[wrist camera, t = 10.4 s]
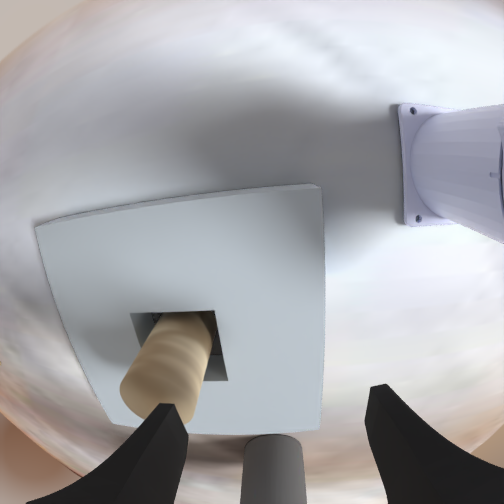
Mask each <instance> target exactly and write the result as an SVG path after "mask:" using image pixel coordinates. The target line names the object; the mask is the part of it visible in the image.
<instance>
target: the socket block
mask: <svg viewBox="0 0 504 504" xmlns="http://www.w3.org/2000/svg"><path fill="white" fill-rule="evenodd" d="M35 231H36V236H37V240H38V245H39V249H40V253H41V257H42V260H43V264H44V268H45V271H46V275H47V278H48V281H49V284H50V288H51V291H52V294H53V297H54V300H55V303H56V306H57V308H58V311H59V314H60V317H61V319H62V322H63V325H64V327H65V330H66V332H67V335H68V337H69V339H70V342H71V344H72V347H73V349H74V351H75V353H76V356H77V358H78V360H79V362H80V364H81V366H82V368H83V371H84V373H85V375H86V377H87V379H88V381H89V383H90V385H91V387H92V388H93V390H94V392H95V394H96V396H97V398H98V400H99V401H100V403H101V405H102V407H103V409H104V410H105V412H106V414H107V415H108V417H109V419H110V420H111V422H112V423H113V424H118V425H124V426H130V427H137V428H138V427H139V426H140V425H141V424H142V423H143V421H144V419H142V418H140V417H139V416H137V415H136V414H135V413H133V412H132V411H131V410H130V409H129V408H128V407H127V406H126V404H125V403H124V401H123V400H122V398H121V395H120V389H119V388H120V384H121V382H122V380H123V378H124V377H125V375H126V373H127V371H128V370H129V368H130V366H131V365H132V363H133V361H134V360H135V358H136V356H137V354H138V353H139V351H140V349H141V348H142V346H143V344H144V343H145V341H146V340H147V338H148V336H149V335H150V333H151V331H152V330H153V328H154V326H155V324H154V321H153V317H152V314H151V312H184V311H207V310H215V315H216V321H217V326H218V331H219V337H220V342H221V347H222V352H223V355H210V356H209V360H208V364H207V367H206V371H205V375H204V379H203V382H202V386H201V390H200V394H199V397H198V401H197V405H196V409H195V413H194V416H193V418H192V419H191V421H189V422H188V423H187V424H184V426H185V429H186V431H187V433H195V434H219V435H250V434H275V433H289V432H300V431H310V430H319V429H320V419H321V406H322V391H323V373H324V348H325V246H324V221H323V202H322V188H321V187H319V186H317V185H315V184H312V183H309V184H295V185H282V186H271V187H260V188H249V189H239V190H230V191H221V192H213V193H204V194H197V195H189V196H182V197H174V198H167V199H161V200H154V201H147V202H141V203H135V204H129V205H123V206H117V207H112V208H106V209H101V210H95V211H90V212H85V213H80V214H75V215H70V216H65V217H61V218H58V219H55V220H52V221H50V222H47V223H44V224H42V225H39V226H37V227H35Z"/></svg>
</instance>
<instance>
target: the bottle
mask: <svg viewBox="0 0 504 504" xmlns="http://www.w3.org/2000/svg"><path fill="white" fill-rule="evenodd" d="M240 504H307V498H306V485H305V473H304V462H303V453H302V447H301V444H300V442H299V441H298V440H296V439H295V438H292V437H289V436H285V435H265V436H260V437H257V438H255V439H253V440H251V441H250V442H248V443H247V445H246V447H245V452H244V462H243V474H242V486H241V498H240Z"/></svg>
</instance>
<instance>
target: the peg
mask: <svg viewBox="0 0 504 504" xmlns="http://www.w3.org/2000/svg"><path fill="white" fill-rule="evenodd" d="M216 330H217V322H216V319H215V316H214V314H213V313H212V311H211V310H207V311H184V312H163V314H162V315H161V317H160V318H159V320H158V322H157V323H156V325H155V326H154V328H153V330H152V331H151V333H150V335H149V336H148V338H147V340H146V341H145V343H144V344H143V346H142V348H141V349H140V351H139V353H138V354H137V356H136V358H135V360H134V361H133V363H132V365H131V366H130V368H129V370H128V371H127V373H126V375H125V377H124V378H123V380H122V382H121V384H120V388H119V389H120V395H121V398H122V400H123V401H124V403H125V404H126V406H127V407H128V408H129V409H130V410H131V411H132V412H133V413H135V414H136V415H137V416H139V417H140V418H142V419H144V420H145V419H146V418H147V417H148V416H149V414H150V413H151V412H152V411H153V410H154V409H155V408H156V406H157V405H158V404H159V403H171V404H175V407H176V409H177V411H178V413H179V416H180V418H181V420H182V422H183V424H187V423H188V422H189V421H191V419H192V418H193V416H194V413H195V409H196V405H197V401H198V397H199V394H200V390H201V386H202V382H203V379H204V375H205V371H206V367H207V364H208V360H209V356H210V353H211V349H212V345H213V341H214V338H215V334H216Z"/></svg>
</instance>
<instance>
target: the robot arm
mask: <svg viewBox="0 0 504 504" xmlns="http://www.w3.org/2000/svg"><path fill="white" fill-rule="evenodd" d="M410 108H412V109H413V110H414V115H413V114H411V112H410ZM398 116H399V125H400V134H401V146H402V161H403V183H404V222H405V224H406V225H408V226H410V227H416V226H431V225H446V224H461V225H463V226H465V227H468V228H470V229H472V230H474V231H477V232H479V233H481V234H483V235H486V236H488V237H490V238H492V239H494V240H496V241H498V242H500V243H503V244H504V104H501V105H493V106H485V107H478V108H472V109H466V110H455V109H449V108H443V107H436V106H428V105H420V104H411V103H403V104H400V105H399V107H398ZM417 215H419V220H418V221H417V222H416V220H415V219H416V216H417ZM365 426H366V431H367V436H368V440H369V444H370V447H371V450H372V453H373V456H374V458H375V461H376V464H377V467H378V470H379V473H380V476H381V479H382V482H383V484H384V488H385V491H386V495H387V500H388V504H504V468H501V467H498V466H495V465H493V464H490V463H488V462H486V461H484V460H481V459H479V458H477V457H475V456H473V455H471V454H469V453H468V452H466V451H464V450H463V449H461V448H459V447H458V446H456V445H455V444H453V443H452V442H450V441H449V440H447V439H446V438H445V437H443V436H442V435H441V434H439V433H438V432H437V431H436V430H434V429H433V428H432V427H431V426H429V425H428V424H427V423H426V422H425V421H424V420H423V419H422V418H420V417H419V416H418V415H417V414H416V413H415V412H414V411H413V410H412V409H411V408H410V407H409V406H408V405H407V404H406V403H405V402H404V401H403V400H402V399H401V398H400V397H399V396H398V395H397V394H396V393H395V392H394V391H393V390H392V389H391V388H390V387H389V386H388V385H387V384H382V385H378V386H373V387H370V394H369V399H368V405H367V410H366V416H365ZM188 436H189V435H188V433H187V431H186V429H185V426H184V424H183V422H182V420H181V418H180V416H179V413H178V411H177V409H176V407H175V404H171V403H159V404H158V405H157V406H156V408H155V409H154V410H153V411H152V412H151V413H150V414H149V416H148V417H147V418H146V419H145V420H144V421H143V423H142V424H141V425H140V426H139V427H138V428H137V429H136V430H135V432H134V433H133V434H132V435H131V436H130V437H129V438H128V439H127V440H126V441H125V442H124V443H123V444H122V445H121V446H120V447H119V448H118V449H117V450H116V451H115V452H114V453H113V454H112V455H111V456H110V457H109V458H108V459H106V460H105V461H104V462H103V463H102V464H100V465H99V466H98V467H97V468H95V469H94V470H93V471H91V472H90V473H88V474H87V475H85V476H84V477H82V478H81V479H79V480H77V481H76V482H74V483H73V484H71V485H69V486H67V487H65V488H63V489H61V490H59V491H57V492H55V493H52V494H50V495H47V496H45V497H42V498H39V499H35V500H32V501H29V502H27V503H26V504H174V500H175V496H176V493H177V489H178V485H179V482H180V478H181V474H182V471H183V467H184V463H185V459H186V453H187V446H188Z"/></svg>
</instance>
